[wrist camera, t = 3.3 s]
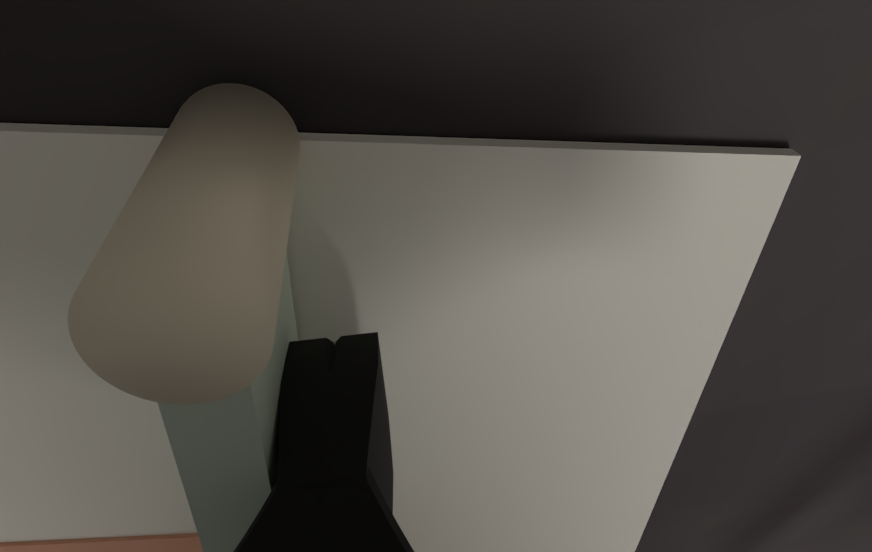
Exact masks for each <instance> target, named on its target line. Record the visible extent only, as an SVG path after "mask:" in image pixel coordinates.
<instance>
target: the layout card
mask: <svg viewBox="0 0 872 552" xmlns="http://www.w3.org/2000/svg"><path fill="white" fill-rule="evenodd" d="M168 129H169V128H147V127H116V126H86V125H55V124H25V123H0V552H203V549H202V546H201V542H200V539H199V536H198V533H197V529H196V526H195V523H194V520H193V516H192V513H191V510H190V507H189V504H188V500H187V497H186V494H185V491H184V487H183V484H182V481H181V478H180V474H179V471H178V468H177V465H176V461H175V458H174V455H173V452H172V448H171V445H170V442H169V439H168V435H167V432H166V429H165V426H164V422H163V419H162V416H161V413H160V409H159V406H158V403H157V402H153V401H149V400H145V399H142V398H139V397H136V396H133V395H130V394H128V393H126V392H124V391H122V390H119V389H118V388H116V387H114V386H112V385H111V384H109V383H108V382H106V381H105V380H103V379H102V378H101V377H99V376H98V375H97V374H96V373H95V372H94V371H92V370H91V369H90V368H89V367H88V365H87V364H86V363H85V362H84V361H83V360H82V358H81V357H80V355H79V354H78V352H77V351H76V349H75V347H74V345H73V342H72V340H71V337H70V333H69V329H68V309H69V306H70V302H71V299H72V297H73V295H74V293H75V291H76V289H77V287H78V286H79V284H80V282H81V280H82V279H83V277H84V275H85V273H86V272H87V270H88V268H89V266H90V265H91V263H92V261H93V259H94V258H95V256H96V254H97V252H98V251H99V249H100V247H101V246H102V244H103V242H104V240H105V239H106V237H107V235H108V233H109V232H110V230H111V228H112V226H113V225H114V223H115V221H116V219H117V218H118V216H119V214H120V212H121V211H122V209H123V207H124V205H125V204H126V202H127V200H128V198H129V197H130V195H131V193H132V191H133V190H134V188H135V186H136V184H137V183H138V181H139V179H140V177H141V176H142V174H143V172H144V170H145V169H146V167H147V165H148V163H149V162H150V160H151V158H152V156H153V155H154V153H155V151H156V149H157V148H158V146H159V144H160V143H161V141H162V139H163V137H164V136H165V134H166V132H167V130H168ZM298 134H299V139H300V156H299V163H298V170H297V178H296V185H295V192H294V200H293V207H292V214H291V222H290V229H289V236H288V244H287V259H288V266H289V274H290V282H291V290H292V297H293V305H294V313H295V320H296V328H297V336H298V341H300V340H309V339H318V338H328V339H329V340H331V341H333V342H334V345H335V342H336V341H337V340H338V339H339V338H340V337H341V336H346V335H355V334H364V333H373V332H378V338H379V346H380V354H381V361H382V369H383V377H384V384H385V392H386V400H387V407H388V415H389V425H390V437H391V449H392V461H393V516H394V518H395V520H396V521H397V523H398V525H399V527H400V528H401V530H402V532H403V533H404V535H405V537H406V538H407V540H408V542H409V544H410V545H411V547H412V549H413V550H414V552H635V550H636V548H637V545H638V543H639V541H640V538H641V536H642V533H643V531H644V529H645V526H646V524H647V522H648V519H649V517H650V514H651V512H652V510H653V507H654V505H655V503H656V500H657V498H658V495H659V493H660V491H661V488H662V486H663V484H664V481H665V479H666V476H667V474H668V472H669V469H670V467H671V465H672V462H673V460H674V457H675V455H676V453H677V450H678V448H679V445H680V443H681V441H682V438H683V436H684V434H685V431H686V429H687V426H688V424H689V422H690V419H691V417H692V415H693V412H694V410H695V407H696V405H697V403H698V400H699V398H700V396H701V393H702V391H703V388H704V386H705V384H706V381H707V379H708V377H709V374H710V372H711V369H712V367H713V365H714V362H715V360H716V358H717V355H718V353H719V350H720V348H721V346H722V343H723V341H724V339H725V336H726V334H727V331H728V329H729V327H730V324H731V322H732V319H733V317H734V315H735V312H736V310H737V308H738V305H739V303H740V300H741V298H742V296H743V293H744V291H745V289H746V286H747V284H748V281H749V279H750V277H751V274H752V272H753V270H754V267H755V265H756V262H757V260H758V258H759V255H760V253H761V251H762V248H763V246H764V243H765V241H766V239H767V236H768V234H769V232H770V229H771V227H772V224H773V222H774V220H775V217H776V215H777V212H778V210H779V208H780V205H781V203H782V201H783V198H784V196H785V193H786V191H787V189H788V186H789V184H790V182H791V179H792V177H793V174H794V172H795V170H796V167H797V165H798V163H799V160H800V158H801V155H799V154H798V153H797V152H795V151H794V150H793V149H786V148H756V147H726V146H695V145H665V144H634V143H604V142H573V141H543V140H512V139H482V138H451V137H421V136H390V135H360V134H329V133H299V132H298Z"/></svg>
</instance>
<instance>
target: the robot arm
mask: <svg viewBox="0 0 872 552" xmlns="http://www.w3.org/2000/svg"><path fill="white" fill-rule="evenodd" d="M233 552H414V550H413V549H412V547H411V545H410V544H409V542H408V540H407V538H406V537H405V535H404V533H403V532H402V530H401V528H400V527H399V525H398V523H397V521H396V520H395V518H394V516H393V461H392V449H391V437H390V425H389V415H388V407H387V400H386V392H385V384H384V377H383V369H382V361H381V354H380V346H379V338H378V332H373V333H364V334H355V335H346V336H341V337H340V338H339V339H338V340H337V341H336V342H335V345H334V342H333V341H331V340H329V339H328V338H318V339H309V340H300V341H291V342H289V345H288V349H287V354H286V358H285V363H284V368H283V373H282V378H281V389H280V419H279V451H278V473H277V482H276V484H275V486H274V487H273V489H272V491H271V493H270V494H269V496H268V498H267V499H266V501H265V503H264V505H263V506H262V508H261V510H260V511H259V513H258V514H257V516H256V518H255V519H254V521H253V522H252V524H251V526H250V527H249V529H248V530H247V532H246V534H245V535H244V537H243V538H242V540H241V541H240V543H239V544H238V546H237V547H236V548H235V550H234V551H233Z"/></svg>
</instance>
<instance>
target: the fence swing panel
mask: <svg viewBox="0 0 872 552" xmlns="http://www.w3.org/2000/svg"><path fill="white" fill-rule="evenodd" d="M299 156H300V139H299V134H298V131H297V128H296V126H295V123H294V121H293V119H292V118H291V116H290V115H289V113H288V112H287V111H286V109H285V108H284V107H283V106H282V105H281V104H280V103H279V102H278V101H277V100H275V99H274V98H273V97H271V96H270V95H268V94H267V93H265V92H263V91H261V90H259V89H256V88H254V87H251V86H247V85H243V84H237V83H222V84H216V85H211V86H208V87H206V88H203V89H201V90H199V91H197V92H196V93H194V94H193V95H192V96H190V97H189V98H188V99H187V100H186V101H185V102H184V104H183V105H182V106H181V108H180V109H179V111H178V113H177V115H176V116H175V118H174V120H173V122H172V123H171V125H170V127H169V129H168V130H167V132H166V134H165V136H164V137H163V139H162V141H161V143H160V144H159V146H158V148H157V149H156V151H155V153H154V155H153V156H152V158H151V160H150V162H149V163H148V165H147V167H146V169H145V170H144V172H143V174H142V176H141V177H140V179H139V181H138V183H137V184H136V186H135V188H134V190H133V191H132V193H131V195H130V197H129V198H128V200H127V202H126V204H125V205H124V207H123V209H122V211H121V212H120V214H119V216H118V218H117V219H116V221H115V223H114V225H113V226H112V228H111V230H110V232H109V233H108V235H107V237H106V239H105V240H104V242H103V244H102V246H101V247H100V249H99V251H98V252H97V254H96V256H95V258H94V259H93V261H92V263H91V265H90V266H89V268H88V270H87V272H86V273H85V275H84V277H83V279H82V280H81V282H80V284H79V286H78V287H77V289H76V291H75V293H74V295H73V297H72V299H71V302H70V306H69V309H68V329H69V333H70V337H71V340H72V342H73V345H74V347H75V349H76V351H77V352H78V354H79V355H80V357H81V358H82V360H83V361H84V362H85V363H86V364H87V365H88V367H89V368H90V369H91V370H92V371H94V372H95V373H96V374H97V375H98V376H99V377H101V378H102V379H103V380H105V381H106V382H108V383H109V384H111V385H112V386H114V387H116V388H118V389H119V390H122V391H124V392H126V393H128V394H130V395H133V396H136V397H139V398H142V399H145V400H149V401H153V402H157V403H158V406H159V409H160V413H161V416H162V419H163V422H164V426H165V429H166V432H167V435H168V439H169V442H170V445H171V448H172V452H173V455H174V458H175V461H176V465H177V468H178V471H179V474H180V478H181V481H182V484H183V487H184V491H185V494H186V497H187V500H188V504H189V507H190V510H191V513H192V516H193V520H194V523H195V526H196V529H197V533H198V536H199V539H200V542H201V546H202V549H203V552H233V551H234V550H235V548H236V547H237V546H238V544H239V543H240V541H241V540H242V538H243V537H244V535H245V534H246V532H247V530H248V529H249V527H250V526H251V524H252V522H253V521H254V519H255V518H256V516H257V514H258V513H259V511H260V510H261V508H262V506H263V505H264V503H265V501H266V499H267V498H268V496H269V494H270V493H271V491H272V489H273V487H274V486H275V484H276V482H277V473H278V451H279V419H280V389H281V378H282V373H283V368H284V363H285V358H286V354H287V349H288V345H289V342H291V341H298V336H297V328H296V320H295V313H294V305H293V297H292V290H291V282H290V274H289V266H288V259H287V244H288V236H289V229H290V222H291V214H292V207H293V200H294V192H295V185H296V178H297V170H298V163H299Z"/></svg>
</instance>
